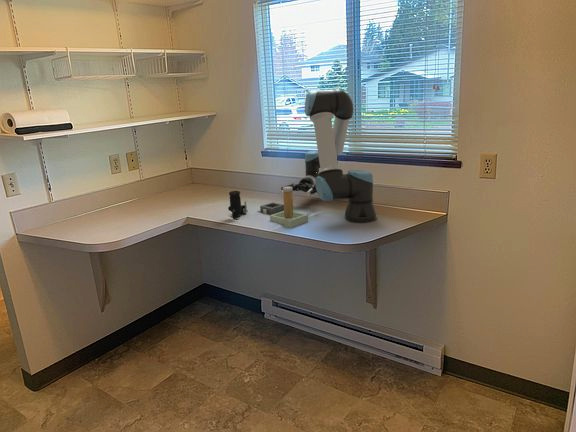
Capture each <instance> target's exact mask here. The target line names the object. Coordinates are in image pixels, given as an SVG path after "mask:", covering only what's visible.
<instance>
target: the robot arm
mask: <svg viewBox="0 0 576 432" xmlns="http://www.w3.org/2000/svg"><path fill="white" fill-rule="evenodd" d="M354 111H355V109H354V103H353V100H352V98H351V97H350V95H349V94H348V93H347V92H346V91H344V90H342V89H338V88H337V89H323V90H322V89H321V90H320V89H319V90H318V89H316V90H310V91H308V92H307V94H306V96H305V101H304V113H305V116H306V117H309V121H311V123H313V126H314V127H313V128H314V134H315V141H316V148H317V150H310V151H309V150H308V151H306V152H305V154H304V163H305V167H304V168H305V176H304V177H302V179H300V180H299V182H298V183H296V184H295V182H294V183H291V184H288V185H285V186H281V187H280V189H281V191H280V192H281V197H283V187H292V188H293V191H292V192H295V191H296V192H304V193H307V198H310V197H311V196H312V195H314V194H317V196H318V197H319V198H320V200H321V201H324V202H325V201H326V202H329V201H337V200H338V201H339V200H348V201H347V205H346V208H345V213H344V220H346V221H347V222H351V223H359V222H363V223H370V222H373V220H374V221H376V220H377V212H376V209H375V205H374V177H373V174H372V172H370V171H366V170H361V169H349V170H347V173H345V174H344V173H343V169H342V168H341V167H340V166H339V167H338V160H337V155H338V154H340V153H344V147H345V142H346V137H347V134H348V128H349V123H350V120H351V119H352V118H353V114H354ZM333 118H334V120H333V121H332V119H333ZM332 122H333V124H332ZM316 172H317V173H316Z"/></svg>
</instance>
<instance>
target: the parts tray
mask: <svg viewBox="0 0 576 432" xmlns="http://www.w3.org/2000/svg"><path fill="white" fill-rule="evenodd" d="M293 216H294V219H291V220H289V219H285V218H284V211H282V212H279V213H276V214H273V215H269V221H270V222H275V223H279V224H280V225H281V226H282V227H286V228H290V229H292V228H294V227H297V226H300V225H302V224H305V223H308V222H309V214H307V213H303V212H300V211H294V210H293Z"/></svg>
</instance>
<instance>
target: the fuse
mask: <svg viewBox="0 0 576 432" xmlns="http://www.w3.org/2000/svg"><path fill="white" fill-rule="evenodd" d="M282 187H283V196H282V197H283V205H284V218H285V219H289V220H291V219H294V216H293V211H294V199H293V198H294V197H293V195H294V194H293V192H294V191H293V188H292V187H284V186H282Z"/></svg>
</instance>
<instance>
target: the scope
mask: <svg viewBox="0 0 576 432" xmlns="http://www.w3.org/2000/svg"><path fill="white" fill-rule="evenodd" d="M228 195H229V206H228V211H229V212H230V213H232V220H234V221H238V220H240V218H241V217H242V215H247V213H248V209H247V201H246V200H244V204H242V202H241V201H242V200H241V191H239V190H232V191H229V192H228ZM238 218H239V219H238Z"/></svg>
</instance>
